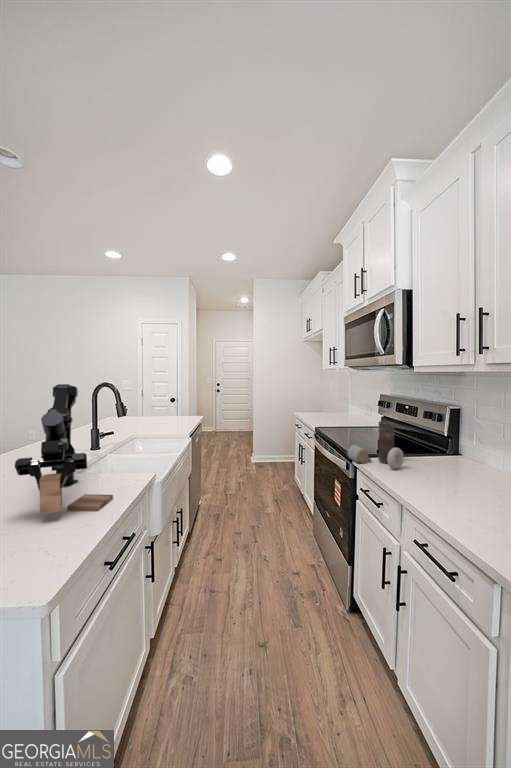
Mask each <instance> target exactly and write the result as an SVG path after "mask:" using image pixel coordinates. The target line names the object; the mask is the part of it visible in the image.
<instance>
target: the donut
mask: <svg viewBox="0 0 511 768" xmlns="http://www.w3.org/2000/svg"><path fill="white" fill-rule="evenodd" d="M387 462H388V463H387V464H388V466H389V467H390V469H393V470H398V469H400V468H401V467H402V466H403V463H404V452H403V450H402V449H401V448H399V447H395V446H394V448H392V449H391V450H390V451H389V453H388V456H387Z"/></svg>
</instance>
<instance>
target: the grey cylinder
mask: <svg viewBox="0 0 511 768" xmlns="http://www.w3.org/2000/svg"><path fill="white" fill-rule="evenodd" d="M347 456H348V459H350V460H352V461H354V462H356V463H358V464H365V463H366V462H367V461H368V462H371V461H372V458H371V457H369V452H368V451H367V450H366V449H365V448H363V447H361V446H359V445H357V444H353V445H350V447H349V448H348V450H347Z"/></svg>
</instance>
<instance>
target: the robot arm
mask: <svg viewBox="0 0 511 768" xmlns="http://www.w3.org/2000/svg"><path fill="white" fill-rule="evenodd" d="M78 391H79V390H78V387H77V386H74V385H71V384H69V383H66V384H65V383H64V384H56V385H55V386H52V397H53V398H54V400H53V405H52V407H50V408H49V409H48V410H47V412H46V413H45V414H43V415H42V417H40V418H41V420H40V421H41V425H42V429H43V433H44V434H45V440H44V441H41V444H40V445H41V447H40V453H41V455H40V458H41V459H42V460H39V459H35V460H33V457H21V458H20V457H19V458H18V459H16V460H15V463H14V468H15V470H16V473H17V475H18V476H27V475H29V476H30V477H34V478H35V481H36V484H37V489H38V491H39V492H40V482H39V480H40V478H41V477H42V475H43V473H42V471H41V469H42V468H51V472H54V471H55V474H58V473H62V476H61V481H60V489H61V488H62V489H63V487H70V486H72V485H73V484H75V483H77V482H78V479H75V472H76V471H77V470H86V469H87V468H88V457H87V454H86V453H85V452H80V453H76V449H75V448H74V446H73V444H72V441H71V440H72V422H73V417H72V408H73V407H74V405H75V404H76V402H77V398H78V395H79V393H78Z"/></svg>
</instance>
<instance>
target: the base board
mask: <svg viewBox="0 0 511 768" xmlns="http://www.w3.org/2000/svg"><path fill="white" fill-rule="evenodd" d="M113 499H114V495H113V494H98V493H97V494H93V493H91V494H90V493H85V494H83V495H82V496H80V497H78V498H77V499H76V500H74V501H72V502H71V503H69V504H68V505H67V506H66V510H67V511H74V512H76V511H77V512H78V511H80V512H81V511H82V512H99V511H100V510H101V509H102V508H104V507H105V506H107V505H108V504H109V503H110V502H112V500H113Z"/></svg>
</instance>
